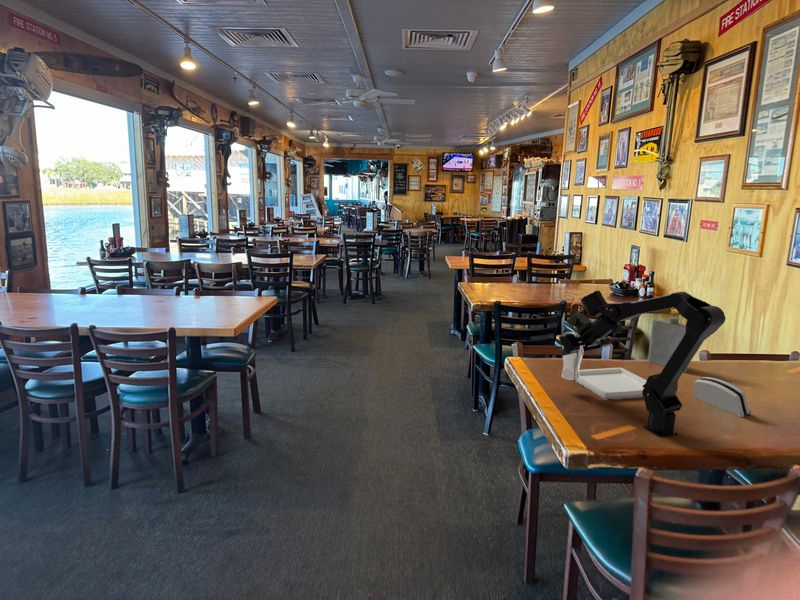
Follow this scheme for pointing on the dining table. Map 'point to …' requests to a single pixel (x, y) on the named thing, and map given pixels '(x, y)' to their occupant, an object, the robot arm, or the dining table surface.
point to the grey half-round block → (721, 395)
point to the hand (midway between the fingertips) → (569, 353)
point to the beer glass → (572, 362)
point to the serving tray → (612, 383)
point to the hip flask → (665, 340)
